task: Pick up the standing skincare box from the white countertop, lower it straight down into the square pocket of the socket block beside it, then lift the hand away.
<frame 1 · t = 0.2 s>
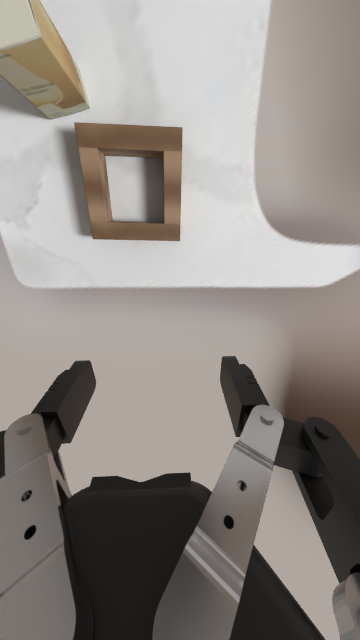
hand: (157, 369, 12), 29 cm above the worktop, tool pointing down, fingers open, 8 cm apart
skincare box: (65, 94, 27), on the worktop
socket block: (137, 191, 32), on the worktop
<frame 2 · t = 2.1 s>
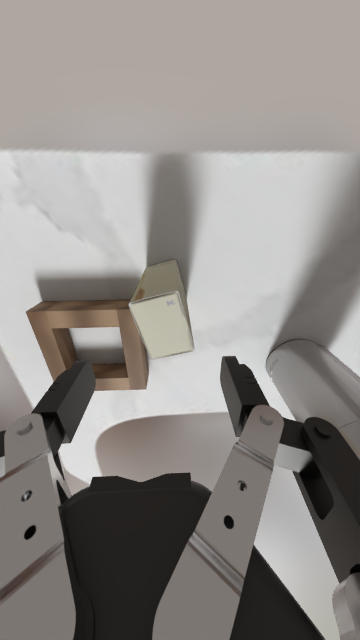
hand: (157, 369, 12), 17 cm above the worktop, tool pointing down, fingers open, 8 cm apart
skincare box: (167, 284, 28), on the worktop
socket block: (100, 341, 32), on the worktop
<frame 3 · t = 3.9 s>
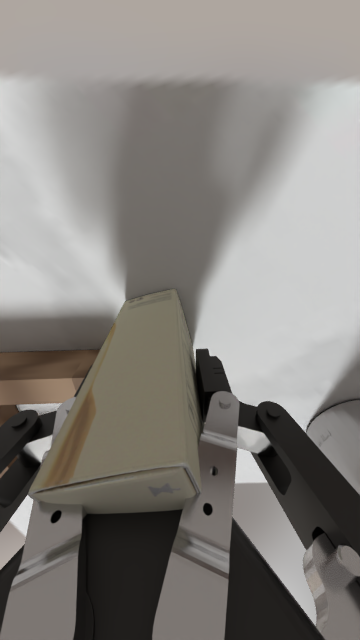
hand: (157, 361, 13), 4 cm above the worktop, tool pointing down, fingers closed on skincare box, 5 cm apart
skincare box: (161, 326, 17), on the worktop, touching gripper
socket block: (60, 406, 21), on the worktop
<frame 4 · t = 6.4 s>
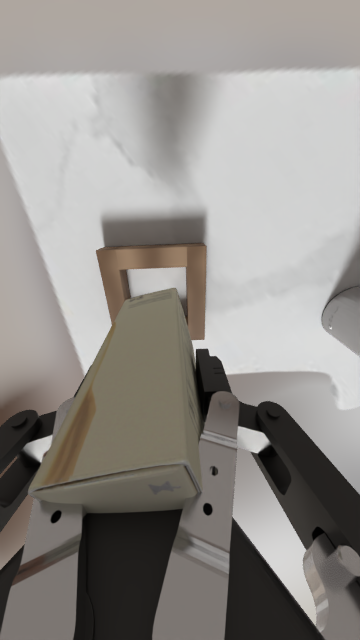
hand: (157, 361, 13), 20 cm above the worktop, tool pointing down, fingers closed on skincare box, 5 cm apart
skincare box: (161, 326, 17), point 15 cm above the worktop, touching gripper
socket block: (158, 292, 31), on the worktop
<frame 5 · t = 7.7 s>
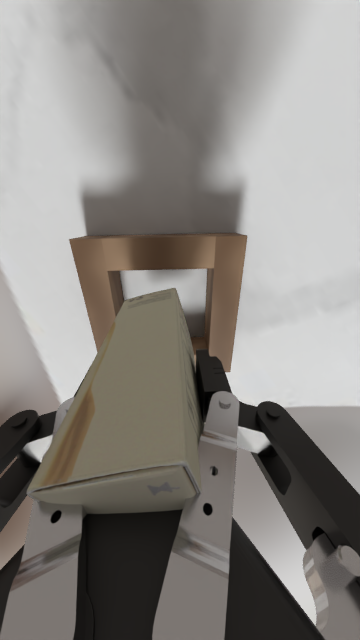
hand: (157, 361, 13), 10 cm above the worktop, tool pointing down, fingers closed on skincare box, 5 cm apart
skincare box: (161, 326, 17), point 6 cm above the worktop, touching gripper
socket block: (165, 303, 22), on the worktop
when the fingers open (6 cm above the worktop, at t = 9.0 s): skincare box drops 1 cm, resting in socket block.
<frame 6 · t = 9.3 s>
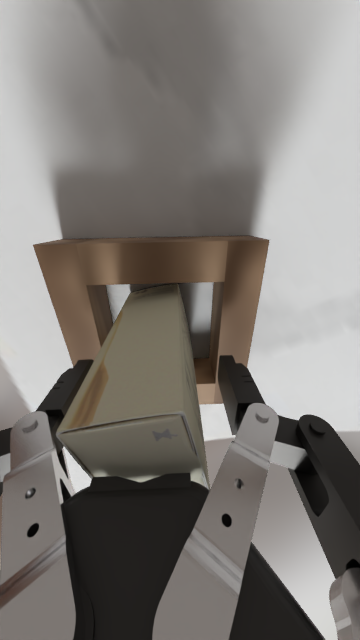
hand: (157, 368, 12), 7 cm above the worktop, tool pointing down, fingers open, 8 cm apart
skincare box: (162, 318, 18), resting in socket block
socket block: (162, 320, 18), on the worktop
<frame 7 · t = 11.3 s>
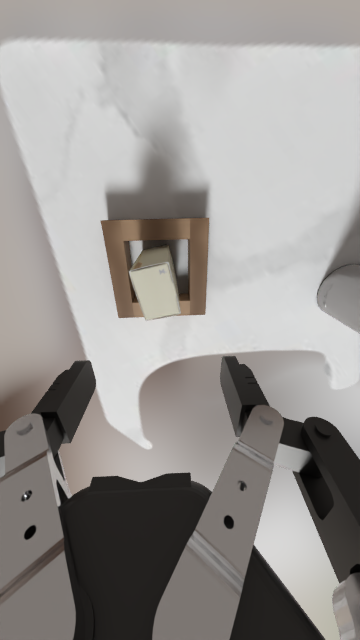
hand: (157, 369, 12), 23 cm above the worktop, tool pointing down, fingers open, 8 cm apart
skincare box: (160, 267, 32), resting in socket block
socket block: (160, 267, 32), on the worktop
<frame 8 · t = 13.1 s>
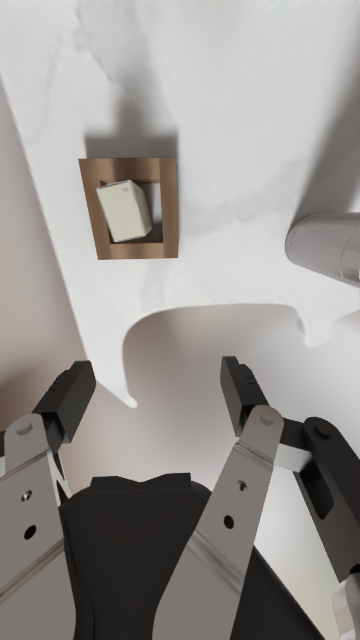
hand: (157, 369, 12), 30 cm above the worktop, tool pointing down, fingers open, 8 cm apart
skincare box: (137, 213, 35), resting in socket block
socket block: (137, 214, 35), on the worktop
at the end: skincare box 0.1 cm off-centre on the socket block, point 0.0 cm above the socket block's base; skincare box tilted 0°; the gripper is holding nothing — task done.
